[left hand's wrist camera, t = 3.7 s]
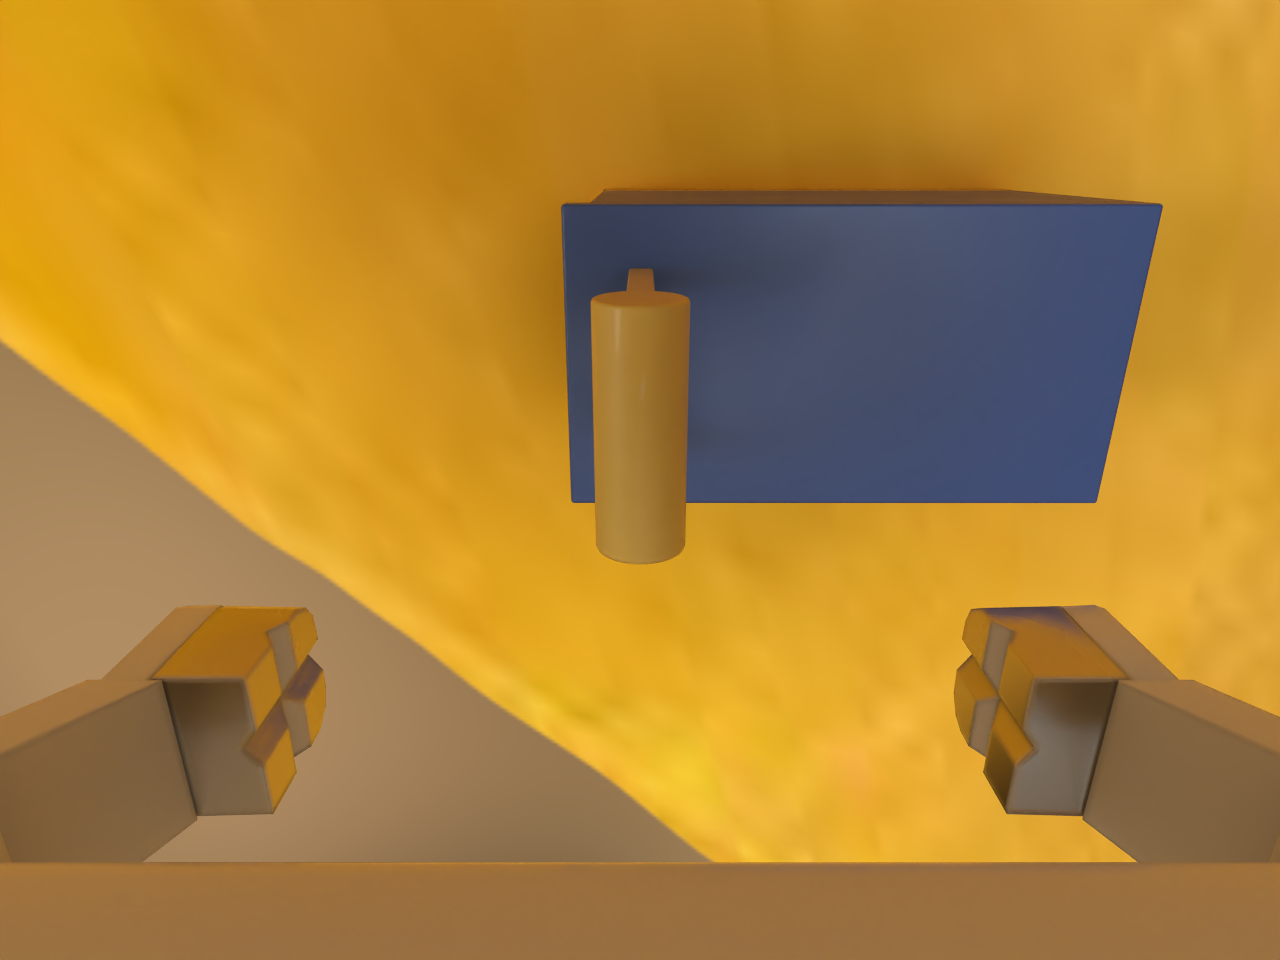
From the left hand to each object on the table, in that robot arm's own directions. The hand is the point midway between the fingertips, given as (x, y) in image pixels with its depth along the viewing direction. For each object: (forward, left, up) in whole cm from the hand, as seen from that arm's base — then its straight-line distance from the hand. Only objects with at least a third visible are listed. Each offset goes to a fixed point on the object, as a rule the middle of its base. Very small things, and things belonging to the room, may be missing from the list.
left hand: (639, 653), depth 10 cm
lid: (+4, +4, -16) cm, 18 cm away
